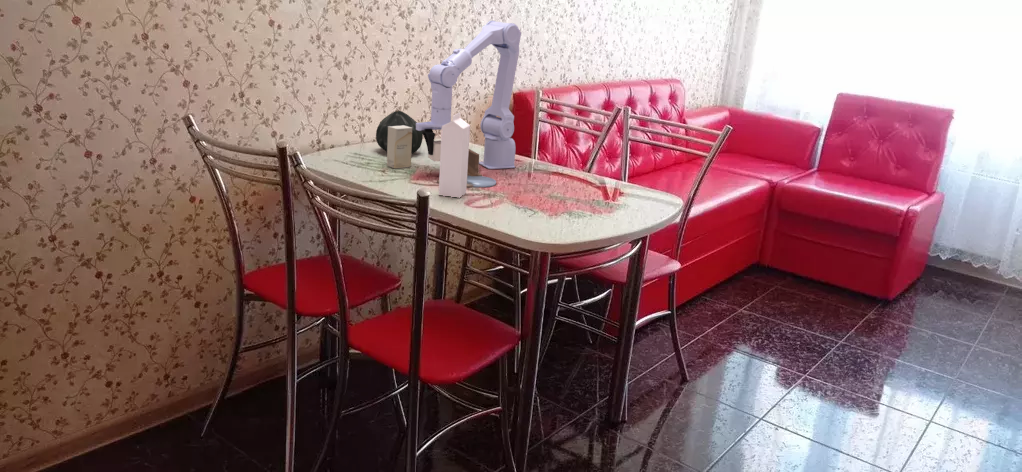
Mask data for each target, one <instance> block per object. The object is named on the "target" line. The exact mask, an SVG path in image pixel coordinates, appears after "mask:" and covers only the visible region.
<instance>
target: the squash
mask: <svg viewBox="0 0 1022 472" xmlns="http://www.w3.org/2000/svg"><path fill="white" fill-rule="evenodd" d="M416 123H418V122H417V121H416V120H415V119H414V118H413V117H411V116H410V115H409V114H407V113H405V112H403V111H401V110H395V111H393V112H391V113H390V114H388V115H387V116H385V117H384V118H383V119H381V121H380V122H379V123H378V126H377V128H376V131H375V132H376V133H375V140H376V143H377V145H378V147H380V148H381V149H382V150H383V151H385V152H387V145H388V126H402V125H405V126H408V127H412V149H411V155H412V154H415V153H416V152H417V151H418V150H419V149H420V148H421V146H422V144H423V139H424V136H423V134H422V131H418V130H416Z"/></svg>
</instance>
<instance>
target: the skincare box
mask: <svg viewBox="0 0 1022 472" xmlns="http://www.w3.org/2000/svg"><path fill="white" fill-rule="evenodd" d="M411 149H412V127H408V126H405V125H402V126H388V145H387V151H386V155H387V156H386V166H387V167H389V168H392V169H402V168H403V169H404V168H410V167H411V166H412V154H411Z"/></svg>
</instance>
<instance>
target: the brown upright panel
mask: <svg viewBox="0 0 1022 472" xmlns="http://www.w3.org/2000/svg"><path fill="white" fill-rule="evenodd" d="M479 162H480V153H478V152H476V151H474V150H472V149H470V148H469V153H468V170H467V176H483V174H481V173H479V166H480V164H479Z"/></svg>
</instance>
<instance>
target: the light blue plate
mask: <svg viewBox="0 0 1022 472" xmlns="http://www.w3.org/2000/svg"><path fill="white" fill-rule="evenodd" d="M468 181H469V182H468ZM470 182H471V183H470ZM467 183H468V184H474V185H473V187H472V188H479V187H481V189H482V187H483V189H484V187H485V188H491V187H495V186H496V185H497V180H495V179H494V178H492V177H489V176H484V175H482V176H467ZM494 185H495V186H494Z"/></svg>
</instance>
